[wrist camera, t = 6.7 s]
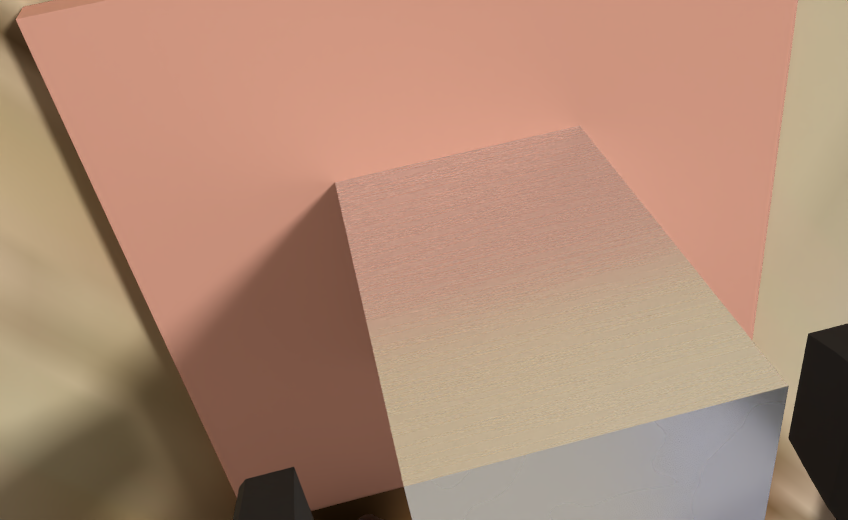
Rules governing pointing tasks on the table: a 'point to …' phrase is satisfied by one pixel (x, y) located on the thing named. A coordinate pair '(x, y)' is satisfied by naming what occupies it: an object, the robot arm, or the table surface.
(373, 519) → the bolt
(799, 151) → the table surface
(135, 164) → the mat
